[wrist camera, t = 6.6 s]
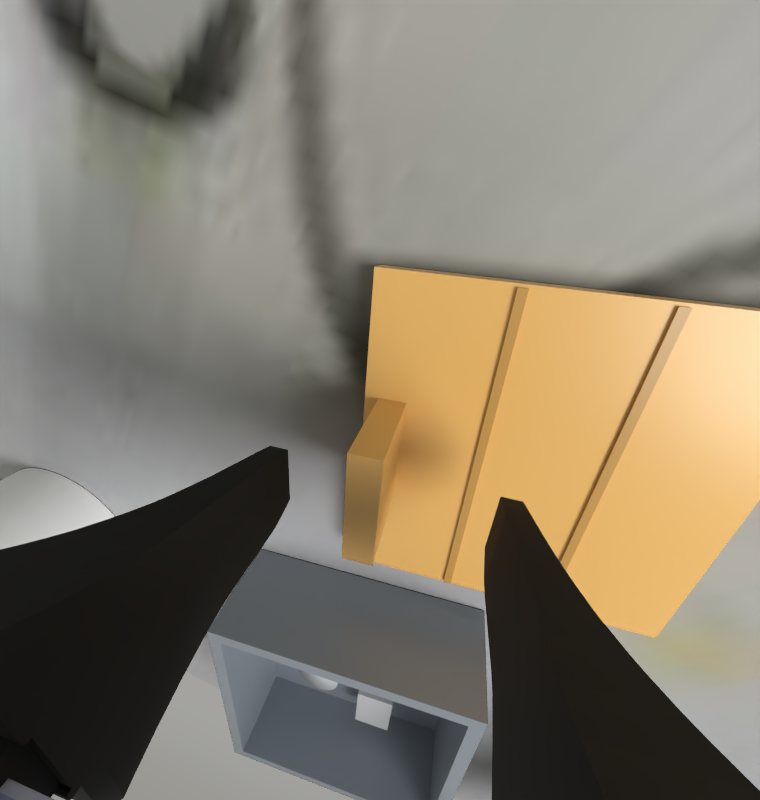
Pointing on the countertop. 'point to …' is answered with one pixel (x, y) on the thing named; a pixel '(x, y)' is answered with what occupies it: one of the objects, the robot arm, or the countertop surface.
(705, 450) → the lid
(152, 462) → the countertop surface
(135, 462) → the countertop surface
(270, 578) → the tub
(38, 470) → the cylinder container
